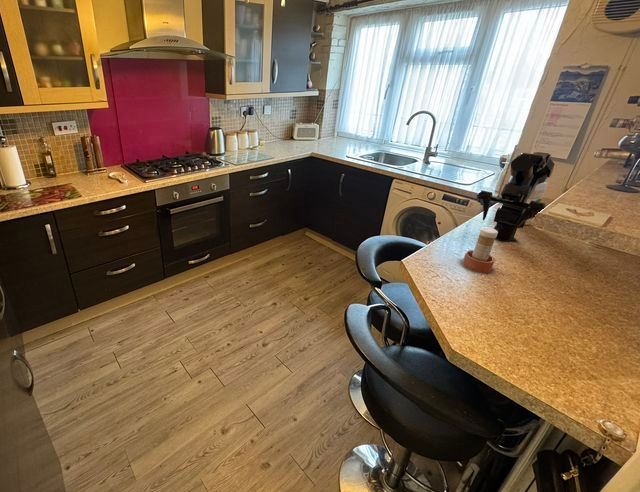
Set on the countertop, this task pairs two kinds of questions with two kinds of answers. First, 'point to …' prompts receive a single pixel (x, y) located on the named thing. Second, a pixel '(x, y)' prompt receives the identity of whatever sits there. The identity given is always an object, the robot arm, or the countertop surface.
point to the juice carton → (536, 197)
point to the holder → (477, 263)
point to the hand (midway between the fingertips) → (498, 223)
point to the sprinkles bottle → (484, 244)
